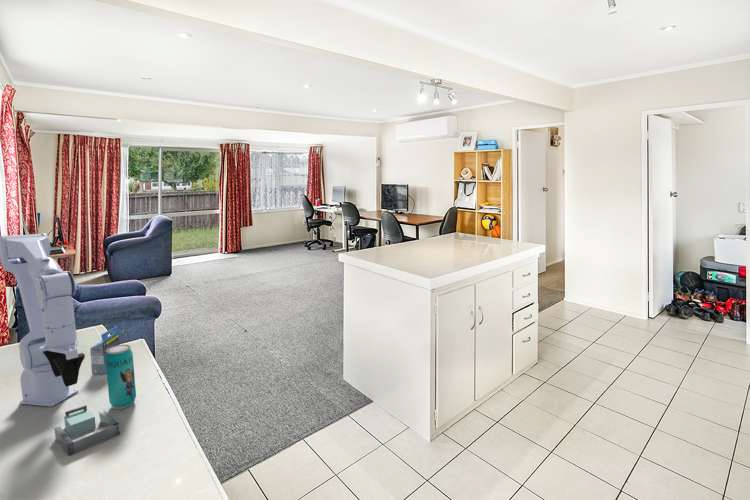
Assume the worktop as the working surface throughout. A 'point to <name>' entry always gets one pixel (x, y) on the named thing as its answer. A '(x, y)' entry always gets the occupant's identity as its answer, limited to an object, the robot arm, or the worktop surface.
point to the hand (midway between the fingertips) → (65, 379)
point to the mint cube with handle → (79, 421)
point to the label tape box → (103, 351)
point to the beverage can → (120, 376)
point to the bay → (89, 435)
